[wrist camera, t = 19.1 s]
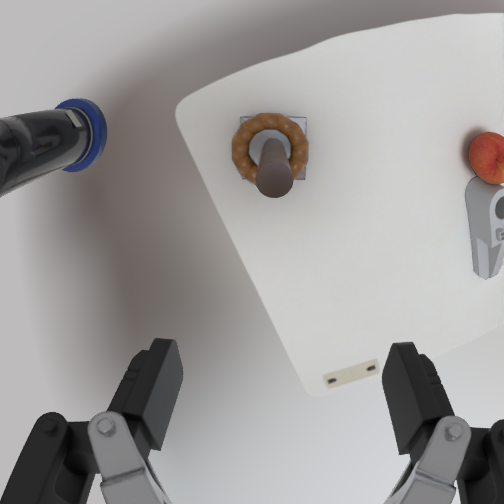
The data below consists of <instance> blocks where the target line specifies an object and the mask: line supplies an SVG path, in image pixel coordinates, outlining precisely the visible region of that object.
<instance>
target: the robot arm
mask: <svg viewBox="0 0 504 504" xmlns="http://www.w3.org/2000/svg"><path fill="white" fill-rule="evenodd" d="M94 136H95V133H94V126H93V123H92V120H91V118H90V116H89V115H88V114H87V113H86V112H85V111H84V110H82V109H81V108H78V107H66V108H62V109H53V110H46V111H39V112H32V113H26V114H20V115H14V116H9V117H4V118H0V197H2V196H4V195H6V194H8V193H10V192H12V191H14V190H16V189H18V188H20V187H22V186H24V185H26V184H28V183H31V182H33V181H35V180H37V179H40V178H42V177H44V176H46V175H49V174H51V173H53V172H56V171H58V170H61V169H63V168H66V167H68V166H72V165H75V164H78V163H80V162H82V161H83V160H84V159H85V158H86V157H87V156H88V155H89V153H90V151H91V149H92V147H93V143H94ZM182 380H183V367H182V362H181V359H180V355H179V350H178V346H177V343H176V341H175V340H173V339H162V338H155V339H154V341H153V343H152V345H151V347H150V349H149V351H148V350H141V352H139V353H138V354H137V355H136V356H135V357H134V358H133V359H132V361H131V363H130V365H129V367H128V370H127V371H126V373H125V375H124V377H123V379H122V381H121V383H120V385H119V387H118V389H117V391H116V393H115V395H114V397H113V399H112V401H111V404H110V406H109V407H108V409H107V411H105V412H101V413H99V414H97V415H95V416H94V417H93V418H92V419H91V420H90V421H86V422H67V421H66V419H65V418H64V417H63V416H62V415H61V414H59V413H56V412H49V413H46V414H43V415H42V416H41V417H39V418H38V420H37V421H36V423H35V425H34V427H33V429H32V431H31V433H30V435H29V437H28V439H27V441H26V443H25V445H24V447H23V449H22V451H21V453H20V456H19V458H18V460H17V462H16V465H15V467H14V469H13V471H12V474H11V476H10V478H9V481H8V483H7V485H6V488H5V490H4V493H3V495H2V498H1V500H0V504H86V502H87V499H88V496H89V493H90V489H91V486H92V483H93V480H94V477H95V474H96V473H97V474H101V476H102V480H103V481H102V482H101V483H100V487H101V491H102V494H103V496H104V499H105V502H106V504H172V502H171V501H170V499H169V497H168V496H167V494H166V492H165V490H164V488H163V486H162V485H161V483H160V481H159V479H158V477H157V475H156V473H155V471H154V469H153V467H152V465H151V463H150V461H149V459H148V456H149V453H150V450H151V449H153V450H158V451H160V450H161V447H162V444H163V441H164V437H165V434H166V431H167V428H168V425H169V421H170V418H171V415H172V412H173V409H174V406H175V403H176V399H177V396H178V393H179V390H180V387H181V384H182ZM382 385H383V389H384V393H385V396H386V401H387V404H388V408H389V412H390V416H391V421H392V425H393V428H394V433H395V437H396V442H397V446H398V451H399V455H403V454H410V459H411V460H410V461H409V463H408V464H407V466H406V468H405V470H404V472H403V473H402V475H401V477H400V479H399V480H398V482H397V484H396V485H395V487H394V489H393V490H392V492H391V494H390V495H389V497H388V498H387V500H386V501H385V503H384V504H451V503H452V500H453V498H454V496H455V493H456V487H454V482H455V480H457V484H458V489H459V495H460V501H461V504H504V419H503V420H499V421H497V422H495V423H494V424H493V426H492V427H491V428H473V427H470V426H469V425H468V423H467V422H466V421H465V420H464V419H462V418H460V417H457V416H455V414H454V412H453V409H452V407H451V404H450V402H449V399H448V397H447V394H446V392H445V390H444V388H443V385H442V384H441V380H440V378H439V376H438V375H437V371H436V369H435V366H434V364H433V363H432V361H431V360H430V359H429V358H428V357H427V356H426V355H425V354H420V355H419V354H418V352H417V350H416V347H415V345H414V343H413V342H401V343H393V344H392V346H391V348H390V352H389V355H388V358H387V361H386V363H385V366H384V369H383V373H382Z"/></svg>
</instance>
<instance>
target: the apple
mask: <svg viewBox="0 0 504 504" xmlns="http://www.w3.org/2000/svg"><path fill="white" fill-rule="evenodd" d="M469 161H470V164H471V166H472V168H473V170H474V172H475V173H476V174H477V175H478V176H479V177H480V178H481V179H482V180H484V181H485V182H487V183H490V184H502V183H504V137H503V136H501V135H499V134H497V133H493V132H486V133H482V134H480V135H478V136H477V137H476V138H475V139H474V140H473V141H472V143H471V145H470V148H469Z"/></svg>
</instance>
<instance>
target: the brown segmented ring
mask: <svg viewBox="0 0 504 504" xmlns="http://www.w3.org/2000/svg"><path fill="white" fill-rule="evenodd" d="M265 129H266V130H277V131H279V132H281V133H282V134H284V135H286V136H287V138H288V140H289V142H290V144H291V145H292V153H291V158H290V160H289V161H288V162H289V165H290V168H291V172H292V175H293V180H295V179H296V178H297V177H298V176H299V174H300V173H301V171H302V170H303V168H304V167H305V165H306V164H307V161H308V141H307V139H306V137H305V135H304V133H303V131H302V129H301V128H300V126H299V125H298V124H297V123H295V122H294V121H292V120H291V119H289V118H287V117H286V116H284V115H282V114H272V113H261V114H258V115H256V116H254V117H252V118H250V119H249V120H247V121H245V122H243V123H242V124H241V126H240V128H239V129H238V131H237V133H236V134H235V136H234V138H233V139H232V160H233V162H234V164H235V166H236V167H237V169H238V171H239V173H240V174H241V176H242V177H243V178H245V179H247V180H248V181H250V182H252V183H253V184H255V185H256V181H255V178H256V173H257V169H258V167H256V166H255V165H254V164H253V163H252V161H251V159H250V157H249V156H248V149H249V143H250V141H251V140H252V138H253V136H254V135H255V134H257V133H259V132H261V131H263V130H265Z"/></svg>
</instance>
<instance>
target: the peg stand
mask: <svg viewBox="0 0 504 504" xmlns="http://www.w3.org/2000/svg"><path fill="white" fill-rule="evenodd" d="M250 118H252V117H241V124H242V123H243V122H245V121H247V120H249V119H250ZM287 118H289V119H291V120H292V121H294V122H295V123H297V124H298V125H299V126H300V128H301V129H302V131H303V133H304V135H305V137H306V118H305V117H287ZM291 153H292V145H291V144H290V142H289V140H288V138H287V136H286V135H284V134H282V133H281V132H279V131H277V130H266V129H265V130H263V131H261V132H259V133H257V134H255V135H254V136H253V138H252V140H251V141H250V143H249V149H248V156H249V157H250V159H251V161H252V163H253V164H254V165H255V166H256V167H258V169H257V173H256V178H255V181H256V186H257V188H258V190H259V191H260V192H261V193H262V194H263V195H265V196H267V197H271V198H278V197H282V196H284V195H285V194H287V193H288V192H289V191H290V189H291V187H292V185H293V175H292V172H291V168H290V165H289V162H288V161H289V160H290V158H291ZM242 179H245V178H243V177H242ZM295 180H305V167H304V168H303V170H302V171H301V173H300V174H299V176H298V177H297V178H296V179H295Z"/></svg>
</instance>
